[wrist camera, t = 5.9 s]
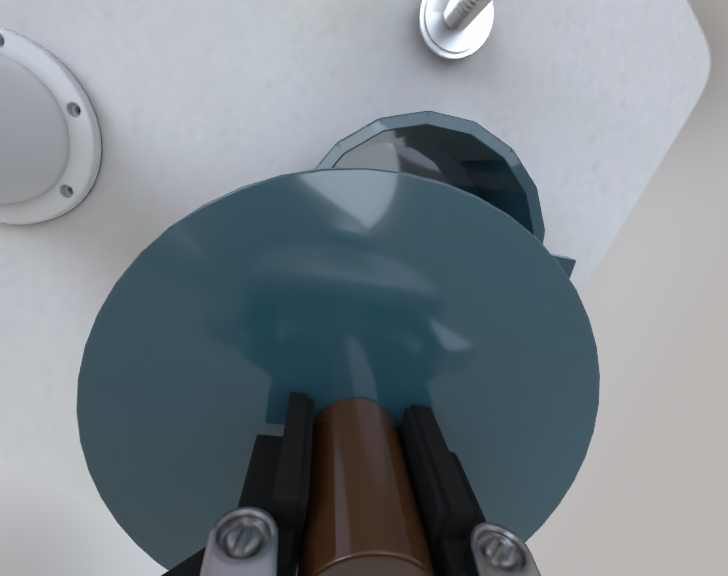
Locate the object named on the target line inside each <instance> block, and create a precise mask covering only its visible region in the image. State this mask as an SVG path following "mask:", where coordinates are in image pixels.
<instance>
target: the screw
mask: <svg viewBox="0 0 728 576" xmlns="http://www.w3.org/2000/svg"><path fill="white" fill-rule="evenodd" d="M493 15H494V8H493V3H492V0H422V2H421V6H420V10H419V26H420V31H421V34H422V37H423V39H424V41H425V43H426V44H427V46H428V47H429V48H430V49H431V50H432V51H433V52H434V53H435V54H437V55H438V56H440V57H443V58H446V59H454V60H455V59H462V58H464V57H467V56H469V55H471V54H472V53H474V52H475V51H476V50H478V49H479V48H480V46H481V45H482V44H483V43H484V42H485V40H486V39H487V37H488V35H489V33H490V30H491V27H492V23H493Z"/></svg>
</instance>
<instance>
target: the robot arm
mask: <svg viewBox="0 0 728 576" xmlns="http://www.w3.org/2000/svg"><path fill="white" fill-rule="evenodd" d="M79 108H80V110H81V112H80V113H79ZM101 151H102V149H101V137H100V130H99V126H98V122H97V119H96V115H95V112H94V110H93V108H92V106H91V104H90V101H89V99H88V97H87V95H86V93H85V92H84V90H83V89H82V87H81V86H80V84H79V83H78V81H77V80H76V78H75V77H74V76H73V75H72V74H71V73H70V72H69V70H68V69H67V68H66V67H65V66H64V65H63V64H62V63H61V62H60V61H59V60H58V59H57V58H55V57H54V56H53V55H52V54H50V53H49V52H48V51H47V50H45V49H44V48H43V47H41V46H40V45H38V44H36V43H34V42H33V41H31V40H29V39H27V38H26V37H24V36H21V35H19V34H17V33H14V32H12V31H9V30H7V29H5V28H2V27H0V223H5V224H13V225H17V224H33V223H38V222H43V221H48V220H51V219H54V218H56V217H59V216H62V215H64V214H65V213H67V212H68V211H70V210H72V209H73V208H75V207H76V206H77V205H78V204H79V203H80V202H81V201H82V200H83V199H84V198H85V197H86V196H87V194H88V193H89V191H90V189H91V188H92V186H93V184H94V183H95V180H96V177H97V174H98V171H99V168H100V160H101ZM71 189H72V190H73V193H72V191H71ZM313 416H314V399H308V394H306V393H297V392H290V398H289V404H288V410H287V416H286V422H285V428H284V434H283V437H282V436H271V435H260V434H257V437H256V440H255V444H254V447H253V451H252V455H251V459H250V463H249V466H248V470H247V474H246V478H245V481H244V485H243V489H242V493H241V496H240V500H239V504H238V508H235V509H232V510H230V511H228V512H226V513H225V514H223V515H222V516H220V517H219V518H218V519H217V521H216V522H215V523H214V524H213V526H212V528H211V530H210V533H209V536H208V540H207V545H206V547H204V548H203V549H201V550H200V551H198V552H197V553H195V554H194V555H192V556H191V557H189V558H188V559H186V560H184V561H183V562H181V563H180V564H178V565H177V566H175V567H174V568H172V569H171V570H169V571H168V572H166V573H165V574H163V575H162V576H296V571H297V565H298V556H299V551H300V547H301V542H302V536H303V530H304V524H305V518H306V512H307V505H308V497H309V484H310V467H311V450H312V433H313ZM399 436H400V440H401V444H402V448H403V452H404V455H405V459H406V463H407V467H408V471H409V475H410V478H411V482H412V486H413V490H414V494H415V497H416V501H417V505H418V509H419V513H420V516H421V520H422V524H423V528H424V532H425V536H426V539H427V543H428V547H429V551H430V555H431V558H432V562H433V566H434V570H435V574H436V576H541V574H540V572H539V570H538V568H537V566H536V563H535V561H534V559H533V556H532V554H531V552H530V550H529V549H528V547H527V545H526V544H525V542H524V541H523V540H522V539H521V538H520V537H519V536H518V535H517V534H515V533H514V532H513V531H511V530H510V529H508V528H506V527H504V526H502V525H500V524H496V523H492V522H487V521H486V519H485V517H484V515H483V512H482V510H481V508H480V506H479V503H478V501H477V499H476V496H475V494H474V492H473V490H472V487H471V485H470V483H469V481H468V478H467V476H466V474H465V472H464V469H463V467H462V465H461V463H460V460H459V458H458V456H457V455H456V453H454V452H449V449H448V447H447V445H446V442H445V440H444V437H443V435H442V433H441V430H440V428H439V426H438V423H437V421H436V418H435V416H434V414H433V411H432V409H431V407H429V406H420V405H412V406H411V408H410V409H405V411H404V415H403V419H402V423H401V427H400V432H399Z"/></svg>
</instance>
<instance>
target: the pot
mask: <svg viewBox="0 0 728 576" xmlns="http://www.w3.org/2000/svg"><path fill="white" fill-rule="evenodd" d="M359 167H364V168H373V169H381V170H390V171H399V172H406V173H410V174H414V175H417V176H421V177H425V178H429V179H433V180H437V181H441V182H444V183H446V184H449V185H451V186H453V187H456V188H458V189H461V190H463V191H465V192H468V193H470V194H473V195H475V196H477V197H479V198H481V199H483V200H484V201H486V202H488V203H489V204H491V205H493V206H494V207H496V208H498V209H499V210H501V211H503V212H504V213H506V214H508V215H509V216H511V217H512V218H513V219H514V220H515V221H517V222H518V223H519V224H520V225H521V226H523V227H524V228H525V229H526V230H528V231H529V232H530V233H531V234H532V235H534V236H535V237H536V238H537V239H538V240H539V241H540V242H541V243H542V245H543V239H544V233H545V232H544V231H545V228H544V223H543V218H542V213H541V207H540V202H539V197H538V191H537V188H536V186H535V184H534V182H533V181H532V179H531V177H530V176H529V174H528V173H527V171H526V169H525V168H524V166H523V165H522V163H521V161H520V160H519V158H518V157H517V155H516V153H515V152H514V150H512V148H511V147H509V146H508V145H507V144H505V143H504V142H502V141H501V140H500V139H498V138H497V137H496V136H494V135H493V134H491V133H490V132H489V131H487V130H486V129H484V128H483V127H482V126H480V125H479V124H478V123H476V122H474V121H470V120H466V119H462V118H458V117H454V116H449V115H445V114H441V113H437V112H433V111H423V112H416V113H409V114H403V115H396V116H390V117H383V118H380V119H377V120H375V121H374V122H372V123H370V124H368V125H367V126H365V127H363V128H361V129H360V130H358V131H356V132H355V133H353V134H351V135H349V136H348V137H346V138H344V139H342V140H341V141H339V142H337V144H335V145H334V146H333V148H332V149H331V150H330V151H329V152H328V154H327V155H326V156H325V157H324V159H323V160H322V161H321V162H320V163H319V165H318V166H317V167H316V168H315V170H316V169H322V168H359ZM551 255H552V256H553V257H554V258H555V259H556V260H557V261H558V263H559V264H560V266H561V267H562V269H563V270H564V272H565V273H566V275H567V276H568V278H569V279H570V276H571V274H572V271H573V268H574V265H575V262H576V260H574V259H571V258H569V257H565V256H560V255H555V254H551Z"/></svg>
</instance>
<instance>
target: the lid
mask: <svg viewBox="0 0 728 576" xmlns="http://www.w3.org/2000/svg"><path fill="white" fill-rule="evenodd" d="M599 379H600V374H599V365H598V355H597V347H596V343H595V339H594V336H593V332H592V328H591V324H590V321H589V318H588V316H587V314H586V311H585V309H584V306H583V304H582V302H581V300H580V297H579V295H578V293H577V291H576V289H575V287H574V286H573V284H572V283H571V281H570V279H569V278H568V276H567V275H566V273H565V272H564V270H563V269H562V267H561V266H560V264H559V263H558V261H557V260H556V259H555V258H554V257H553V256H552V255H551V254H550V252H549V251H548V250H547V249H546V248H545V247H544V246H543V245H542V243H541V242H540V241H539V240H538V239H537V238H536V237H535V236H534V235H532V234H531V233H530V232H529V231H528V230H526V229H525V228H524V227H523V226H521V225H520V224H519V223H518V222H517V221H515V220H514V219H513V218H512V217H511V216H509V215H508V214H506V213H504V212H503V211H501V210H499V209H498V208H496V207H494V206H493V205H491V204H489V203H488V202H486V201H484V200H483V199H481V198H479V197H477V196H475V195H473V194H470V193H468V192H465V191H463V190H461V189H458V188H456V187H453V186H451V185H449V184H446V183H444V182H441V181H437V180H433V179H429V178H425V177H421V176H417V175H414V174H410V173H406V172H399V171H390V170H381V169H373V168H364V167H359V168H322V169H316V170H309V171H303V172H297V173H291V174H284V175H280V176H277V177H273V178H270V179H267V180H264V181H260V182H257V183H254V184H251V185H247V186H244V187H241V188H239V189H237V190H234V191H232V192H230V193H228V194H226V195H224V196H222V197H219V198H217V199H215V200H213V201H211V202H209V203H207V204H204V205H203V206H201V207H200V208H198V209H197V210H195V211H193V212H192V213H190V214H189V215H187V216H186V217H184V218H183V219H181V220H180V221H178V222H177V223H175V224H174V225H172V226H171V227H169V228H168V229H167V230H166V231H165V232H164V233H162V234H161V235H160V236H159V237H158V238H157V239H156V240H155V241H153V242H152V243H151V244H150V245H149V246H148V247H147V248H146V249H144V250H143V251H142V252H141V253H140V254H139V255H138V257H137V258H136V259H135V260H134V261H133V263H132V264H131V265H130V266H129V267H128V269H127V270H126V271H125V272H124V273H123V275H122V276H121V277H120V278H119V279H118V281H117V282H116V284H115V285H114V287H113V289H112V290H111V292H110V294H109V295H108V297H107V299H106V300H105V302H104V304H103V305H102V307H101V309H100V310H99V312H98V314H97V317H96V319H95V322H94V324H93V327H92V329H91V332H90V335H89V337H88V340H87V342H86V345H85V349H84V353H83V358H82V363H81V367H80V372H79V377H78V392H77V418H78V426H79V435H80V442H81V446H82V449H83V453H84V456H85V460H86V463H87V467H88V470H89V473H90V475H91V477H92V479H93V481H94V483H95V486H96V488H97V490H98V492H99V494H100V496H101V498H102V500H103V501H104V503H105V504H106V506H107V507H108V509H109V511H110V512H111V514H112V515H113V517H114V518H115V520H116V521H117V523H118V524H119V525H120V526H121V527H122V528H123V529H124V531H125V532H126V533H127V534H128V535H129V536H130V538H131V539H132V540H133V541H134V542H135V543H136V544H137V545H138V546H139V547H140V548H141V549H143V550H144V551H145V552H146V553H147V554H148V555H149V556H150V557H151V558H153V559H154V560H155V561H156V562H157V563H159V564H160V565H162V566H163V567H164V568H166V569H167V570H171V569H172V568H174V567H175V566H177V565H178V564H180V563H181V562H183V561H184V560H186V559H188V558H189V557H191V556H192V555H194V554H195V553H197V552H198V551H200V550H201V549H203V548H204V547H206V545H207V540H208V536H209V533H210V530H211V528H212V526H213V524H214V523H215V522H216V521H217V519H218V518H219V517H220V516H222V515H223V514H225V513H226V512H228V511H230V510H232V509H235V508H238V504H239V500H240V496H241V493H242V489H243V485H244V481H245V478H246V474H247V470H248V466H249V463H250V459H251V455H252V451H253V447H254V444H255V440H256V437H257V434H260V435H271V436H282V437H283V434H284V428H285V422H286V416H287V410H288V404H289V398H290V392H297V393H306V394H308V399H314V416H313V433H312V450H311V467H310V484H309V497H308V505H307V512H306V518H305V524H304V530H303V536H302V542H301V547H300V551H299V556H298V565H297V571H296V576H436V574H435V570H434V566H433V562H432V558H431V555H430V551H429V547H428V543H427V539H426V536H425V532H424V528H423V524H422V520H421V516H420V513H419V509H418V505H417V501H416V497H415V494H414V490H413V486H412V482H411V478H410V475H409V471H408V467H407V463H406V459H405V455H404V452H403V448H402V444H401V440H400V436H399V432H400V427H401V423H402V419H403V415H404V411H405V409H410V408H411V406H412V405H420V406H429V407H431V409H432V411H433V414H434V416H435V418H436V421H437V423H438V426H439V428H440V430H441V433H442V435H443V437H444V440H445V442H446V445H447V447H448V449H449V452H454V453H456V455H457V456H458V458H459V460H460V463H461V465H462V467H463V469H464V472H465V474H466V476H467V478H468V481H469V483H470V485H471V487H472V490H473V492H474V494H475V496H476V499H477V501H478V503H479V506H480V508H481V510H482V512H483V515H484V517H485V519H486V521H487V522H492V523H496V524H500V525H502V526H504V527H506V528H508V529H510V530H511V531H513V532H514V533H515V534H517V535H518V536H519V537H520V538H521V539H522V540H523V541H524V542H526V541H527V540H528V539H529V538H530V537H531V536H532V535H533V534H534V533H535V532H536V531H537V530H538V529H539V528H540V527H541V526H542V525H543V524H544V523H545V521H546V520H547V519H548V518H549V516H550V515H551V514H552V513H553V511H554V510H555V509H556V508H557V506H558V505H559V504H560V502H561V501H562V499H563V498H564V496H565V494H566V493H567V491H568V490H569V488H570V487H571V485H572V483H573V482H574V480H575V478H576V476H577V473H578V471H579V469H580V467H581V465H582V463H583V461H584V459H585V456H586V453H587V450H588V447H589V444H590V441H591V438H592V435H593V432H594V427H595V421H596V416H597V410H598V405H599V382H600V380H599Z"/></svg>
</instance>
